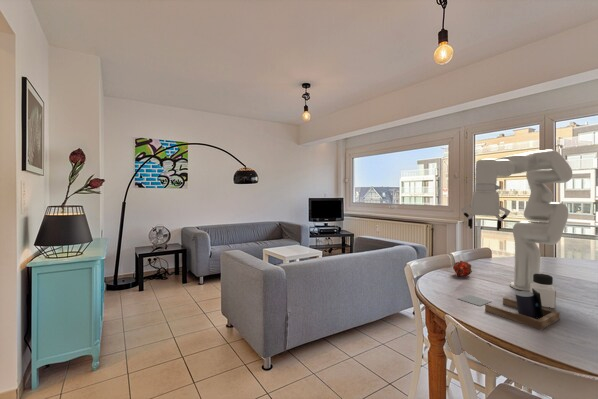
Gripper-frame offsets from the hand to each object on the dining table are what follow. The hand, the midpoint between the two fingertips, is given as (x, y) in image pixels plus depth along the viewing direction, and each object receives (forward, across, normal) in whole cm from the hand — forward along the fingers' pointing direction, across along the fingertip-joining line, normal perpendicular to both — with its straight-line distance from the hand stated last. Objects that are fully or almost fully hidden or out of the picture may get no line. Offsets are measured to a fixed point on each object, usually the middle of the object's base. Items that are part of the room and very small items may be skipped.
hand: (484, 229), depth 123 cm
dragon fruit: (+29, +10, -34) cm, 46 cm away
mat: (+30, +2, +4) cm, 30 cm away
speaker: (+30, -15, +12) cm, 35 cm away
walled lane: (+30, -12, +10) cm, 34 cm away
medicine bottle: (+30, -20, -8) cm, 37 cm away
